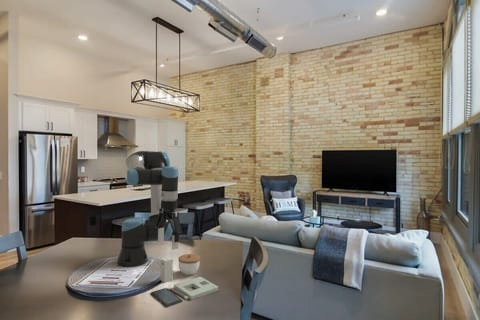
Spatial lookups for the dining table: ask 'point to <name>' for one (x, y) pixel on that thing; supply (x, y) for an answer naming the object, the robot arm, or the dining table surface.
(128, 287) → the dining table surface
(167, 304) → the phone
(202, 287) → the outlet plate
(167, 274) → the block
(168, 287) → the grey pen
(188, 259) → the lidded jar
